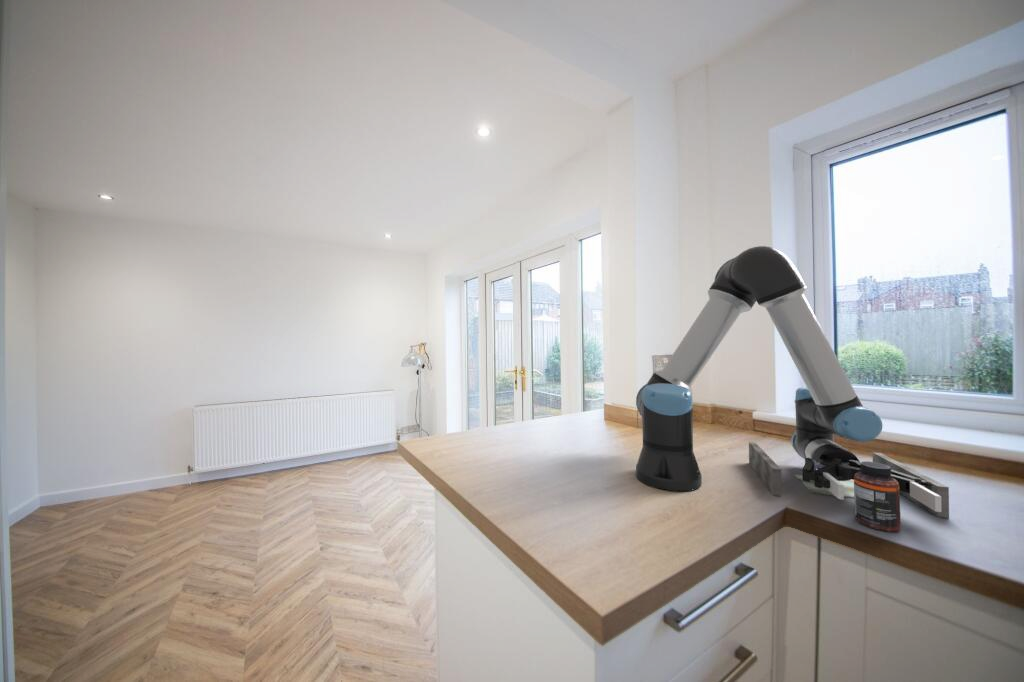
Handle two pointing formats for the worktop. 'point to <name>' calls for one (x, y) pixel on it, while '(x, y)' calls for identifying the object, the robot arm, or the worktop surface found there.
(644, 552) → the worktop surface
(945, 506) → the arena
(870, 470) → the supplement bottle
